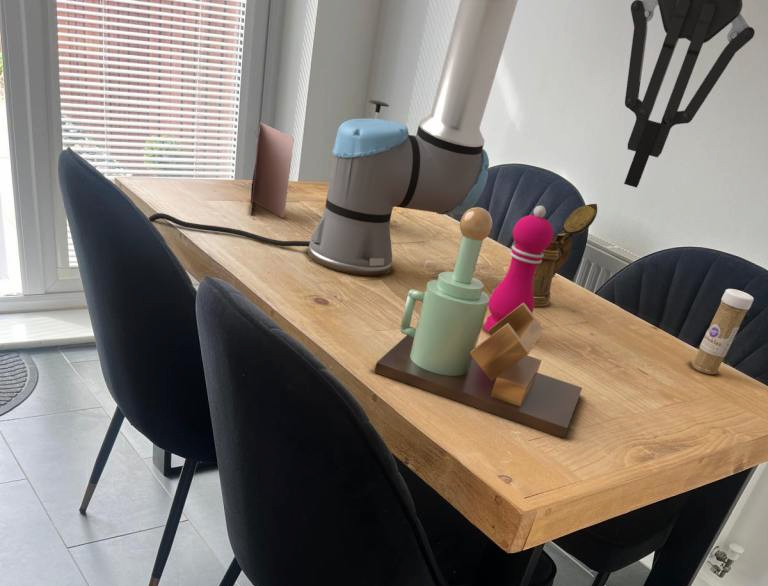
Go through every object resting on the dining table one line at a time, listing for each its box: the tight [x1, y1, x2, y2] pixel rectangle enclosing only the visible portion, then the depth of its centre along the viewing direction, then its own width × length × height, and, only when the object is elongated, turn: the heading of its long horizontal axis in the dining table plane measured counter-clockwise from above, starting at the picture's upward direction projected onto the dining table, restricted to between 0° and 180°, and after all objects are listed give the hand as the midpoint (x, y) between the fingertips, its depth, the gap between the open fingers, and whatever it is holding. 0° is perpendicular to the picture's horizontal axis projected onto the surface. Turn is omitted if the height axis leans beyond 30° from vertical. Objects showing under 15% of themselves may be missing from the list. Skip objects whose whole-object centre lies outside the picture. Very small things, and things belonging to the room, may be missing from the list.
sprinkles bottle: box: [691, 288, 755, 375], centre depth 125 cm, size 5×5×13 cm
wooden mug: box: [533, 203, 598, 307], centre depth 138 cm, size 9×14×18 cm, turn 111°
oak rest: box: [470, 303, 545, 407], centre depth 100 cm, size 8×11×10 cm
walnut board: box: [374, 335, 583, 439], centre depth 104 cm, size 26×15×2 cm, turn 69°
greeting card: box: [250, 122, 295, 219], centre depth 151 cm, size 11×7×15 cm, turn 6°
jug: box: [399, 206, 493, 376], centre depth 99 cm, size 16×8×20 cm
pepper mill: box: [484, 205, 554, 334], centre depth 118 cm, size 7×7×20 cm
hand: (631, 184), depth 87 cm, fingers closed
